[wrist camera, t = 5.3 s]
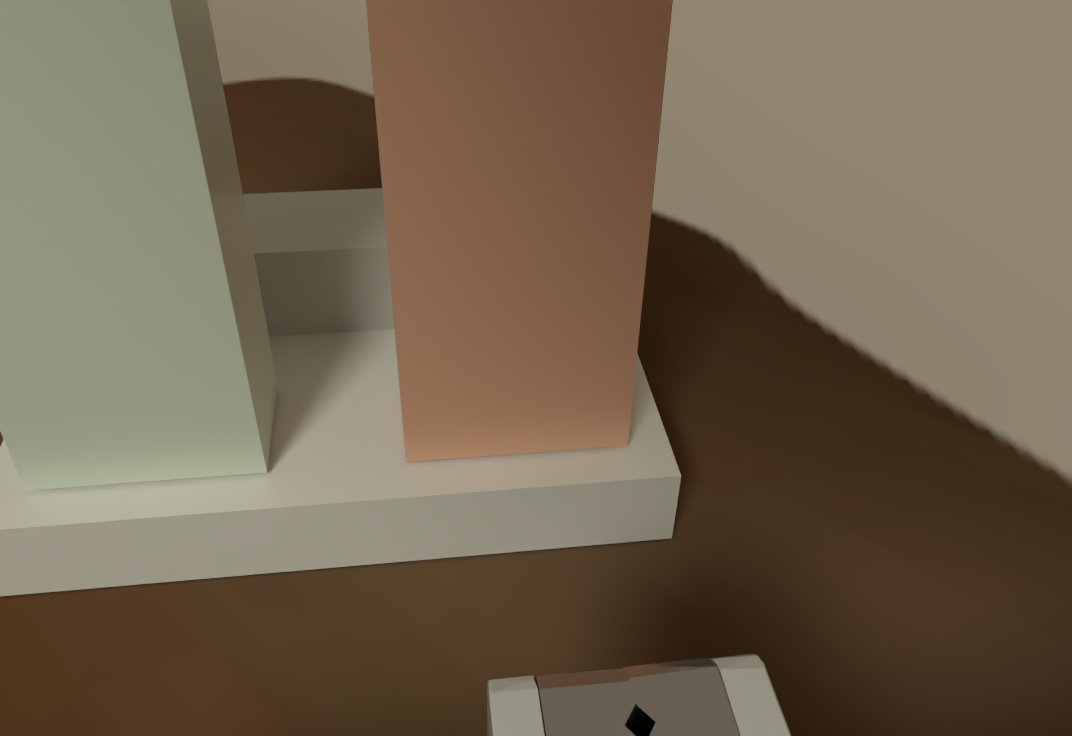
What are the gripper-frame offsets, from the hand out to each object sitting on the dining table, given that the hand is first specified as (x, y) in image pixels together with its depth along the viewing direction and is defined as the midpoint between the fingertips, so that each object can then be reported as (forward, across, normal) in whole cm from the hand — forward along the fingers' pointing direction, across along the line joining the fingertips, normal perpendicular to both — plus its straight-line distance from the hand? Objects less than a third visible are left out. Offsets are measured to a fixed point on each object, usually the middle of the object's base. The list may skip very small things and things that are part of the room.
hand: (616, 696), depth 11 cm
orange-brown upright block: (+11, 0, +5) cm, 13 cm away
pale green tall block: (+11, +8, +5) cm, 15 cm away
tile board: (+14, +4, +8) cm, 16 cm away
